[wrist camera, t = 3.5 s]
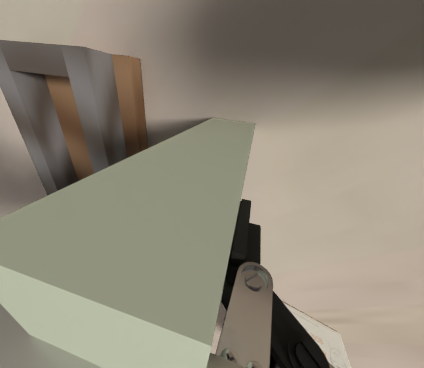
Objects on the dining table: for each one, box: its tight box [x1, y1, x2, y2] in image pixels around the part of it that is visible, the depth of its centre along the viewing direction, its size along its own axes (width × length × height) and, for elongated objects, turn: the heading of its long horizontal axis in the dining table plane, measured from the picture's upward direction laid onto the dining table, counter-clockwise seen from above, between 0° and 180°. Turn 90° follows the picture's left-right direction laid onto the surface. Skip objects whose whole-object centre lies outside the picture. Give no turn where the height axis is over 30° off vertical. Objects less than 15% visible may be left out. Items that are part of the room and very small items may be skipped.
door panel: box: [0, 118, 255, 368], centre depth 9 cm, size 10×3×12 cm, turn 174°
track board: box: [0, 40, 148, 195], centre depth 16 cm, size 22×10×3 cm, turn 174°
